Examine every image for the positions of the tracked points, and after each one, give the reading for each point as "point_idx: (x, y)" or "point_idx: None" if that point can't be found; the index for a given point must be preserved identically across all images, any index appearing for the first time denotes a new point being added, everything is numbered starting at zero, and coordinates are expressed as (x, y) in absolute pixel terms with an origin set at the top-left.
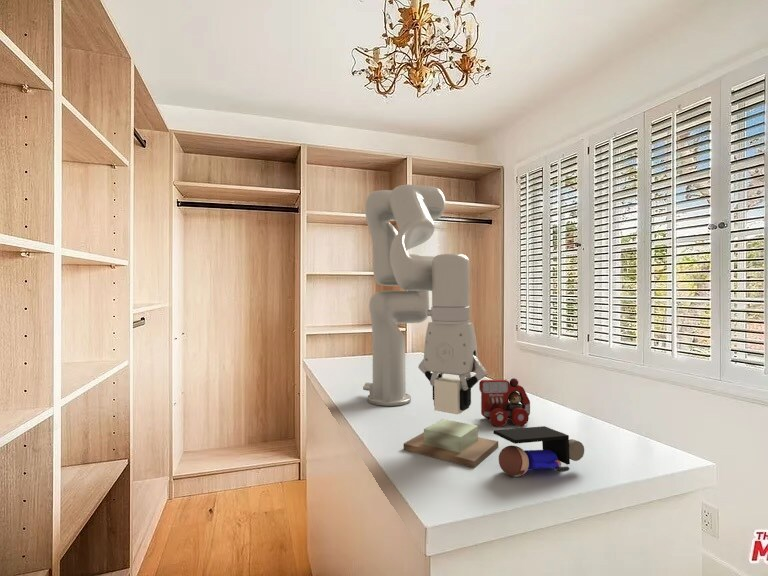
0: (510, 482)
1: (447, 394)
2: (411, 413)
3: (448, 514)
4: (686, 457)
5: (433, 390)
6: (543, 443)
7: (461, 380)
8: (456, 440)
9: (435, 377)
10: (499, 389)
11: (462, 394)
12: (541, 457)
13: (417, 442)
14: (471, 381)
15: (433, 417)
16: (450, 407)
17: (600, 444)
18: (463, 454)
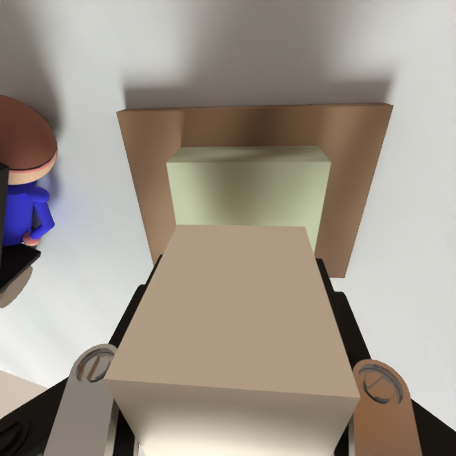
0: (4, 77)
1: (220, 292)
2: (443, 350)
3: None
4: None
5: (355, 335)
6: (19, 265)
7: (98, 422)
8: (187, 157)
9: (369, 443)
10: None
11: (131, 315)
12: None
13: (344, 146)
14: (34, 422)
15: (374, 347)
16: (210, 241)
17: (46, 344)
18: (169, 141)
